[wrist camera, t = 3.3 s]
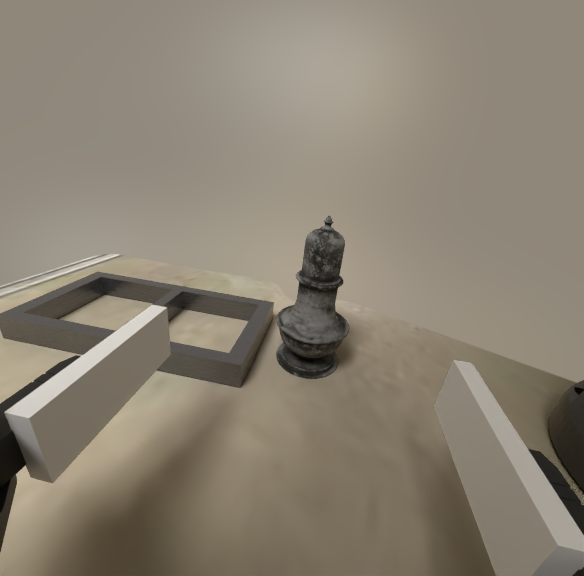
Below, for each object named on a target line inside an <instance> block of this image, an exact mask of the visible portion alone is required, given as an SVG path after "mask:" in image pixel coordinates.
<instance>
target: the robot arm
mask: <svg viewBox="0 0 584 576" xmlns="http://www.w3.org/2000/svg"><path fill="white" fill-rule="evenodd" d="M170 355H171V350H170V337H169V324H168V312H167V307H162V306H157V305H151V306H150V307H148V308H147V309H146V310H144V311H143V312H141V313H140V314H139V315H137V316H136V317H135V318H133V319H132V320H130V321H129V322H128V323H126V324H125V325H124V326H122V327H121V328H119V329H118V330H117V331H115V332H114V333H113V334H111V335H110V336H108V337H107V338H106V339H104V340H103V341H102V342H100V343H99V344H97V345H96V346H95V347H93V348H92V349H91V350H89V351H88V352H86V353H85V354H84V355H82V356H77V355H76V356H74V357H71V358H69V359H67V360H64V361H62V362H60V363H58V364H57V365H55V366H54V367H53V368H51V369H50V370H48V371H47V372H46V373H45V374H42V375H41V376H40V377H38V378H37V379H35V380H34V382H33V383H32V382H31V383H29V384H28V385H27V386H25V387H24V388H22V389H21V390H19V391H18V392H16V393H15V394H14V395H12V396H11V397H9V398H8V399H6V400H5V401H4V402H2V403H1V404H0V551H1V547H2V543H3V539H4V535H5V530H6V526H7V522H8V518H9V514H10V510H11V505H12V501H13V497H14V493H15V489H16V485H17V477H16V473H18V472H19V471H20V470H21V469H22V468H23V467H24V466H25V465H26V467H27V469H28V472H29V474H30V477H31V478H35V479H39V480H42V481H46V482H50V483H54V481H55V480H56V479H57V478H58V477H59V476H60V475H61V474H62V473H63V472H64V471H65V469H66V468H67V467H68V466H69V465H70V464H71V463H72V462H73V461H74V460H75V458H76V457H77V456H78V455H79V454H80V453H81V452H82V451H83V450H84V449H85V448H86V446H87V445H88V444H89V443H90V442H91V441H92V440H93V439H94V438H95V437H96V436H97V434H98V433H99V432H100V431H101V430H102V429H103V428H104V427H105V426H106V425H107V424H108V422H109V421H110V420H111V419H112V418H113V417H114V416H115V415H116V414H117V413H118V412H119V410H120V409H121V408H122V407H123V406H124V405H125V404H126V403H127V402H128V401H129V400H130V398H131V397H132V396H133V395H134V394H135V393H136V392H137V391H138V390H139V389H140V388H141V386H142V385H143V384H144V383H145V382H146V381H147V380H148V379H149V378H150V377H151V376H152V374H153V373H154V372H155V371H156V370H157V369H158V368H159V367H160V366H161V365H162V363H163V362H164V361H165V360H166V359H167V358H168V357H169V356H170ZM434 410H435V412H436V415H437V418H438V420H439V423H440V426H441V429H442V431H443V434H444V437H445V439H446V442H447V445H448V447H449V450H450V453H451V456H452V458H453V461H454V464H455V466H456V469H457V472H458V474H459V477H460V480H461V483H462V485H463V488H464V491H465V493H466V496H467V499H468V501H469V504H470V507H471V510H472V512H473V515H474V518H475V520H476V523H477V526H478V528H479V531H480V534H481V537H482V539H483V542H484V545H485V547H486V550H487V553H488V555H489V558H490V561H491V564H492V566H493V569H494V572H495V574H496V576H584V505H581V501H580V500H579V498H578V497H577V495H576V494H575V493H574V491H573V490H571V489H570V485H569V484H568V483H567V481H566V480H565V478H564V477H563V475H562V474H561V473H560V471H559V470H558V468H557V467H556V466H555V465H553V464H552V463H551V462H550V461H549V460H548V459H547V458H546V457H545V456H544V455H543V454H542V453H541V452H540V451H535V450H530V449H527V447H526V446H525V444H524V442H523V441H522V439H521V438H520V436H519V435H518V433H517V432H516V430H515V429H514V427H513V425H512V424H511V422H510V421H509V419H508V418H507V416H506V415H505V413H504V412H503V410H502V408H501V407H500V405H499V404H498V402H497V401H496V399H495V398H494V396H493V395H492V393H491V391H490V390H489V388H488V387H487V385H486V384H485V382H484V381H483V379H482V378H481V376H480V374H479V373H478V371H477V370H476V368H475V367H474V365H473V364H472V363H469V362H464V361H458V360H453V362H452V364H451V366H450V369H449V371H448V374H447V376H446V379H445V381H444V383H443V386H442V388H441V391H440V393H439V395H438V398H437V400H436V403H435V405H434ZM549 432H550V437H551V439H552V442H553V445H554V447H555V449H556V451H557V453H558V455H559V457H560V458H561V460H562V462H563V463H564V465H565V466H566V468H567V469H568V471H569V472H570V474H571V475H572V476H573V478H574V479H575V480H576V481H577V483H578V484H579V485H580V487H581V488H582V489H583V490H584V380H583V381H581V382H579V383H577V384H575V385H574V386H572V387H571V388H570V389H568V390H567V391H566V392H565V394H564V395H563V397H562V398H561V400H560V401H559V403H558V404H557V406H556V407H555V409H554V410H553V412H552V413H551V415H550V418H549Z"/></svg>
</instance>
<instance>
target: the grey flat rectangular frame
mask: <svg viewBox="0 0 584 576" xmlns="http://www.w3.org/2000/svg"><path fill="white" fill-rule="evenodd" d="M103 294H106V295H112V296H117V297H123V298H128V299H134V300H139V301H144V302H150V303H154V304H152V305H157V306H162V307H167V312H168V322H169V321H170V320H171V319H172V318H173V317H174V316H175V315H176V314H178V313H179V312H180V311H181V310H182V309H188V310H193V311H199V312H204V313H210V314H215V315H221V316H226V317H232V318H237V319H243V320H248V321H249V322H248V323H247V325H246V327H245V328H244V330H243V332H242V333H241V335H240V336H239V338H238V340H237V341H236V343H235V345H234V346H233V348H232V349H231V351H230V353H225V352H220V351H215V350H210V349H205V348H200V347H195V346H190V345H185V344H180V343H175V342H170V350H171V355H170V356H169V357H168V358H167V359H166V360H165V361H164V362H163V363H162V365H161V366H160V367H159V368H158V369H157V370H159V371H164V372H168V373H173V374H178V375H182V376H187V377H192V378H197V379H201V380H206V381H211V382H216V383H220V384H225V385H230V386H235V387H239V388H240V387H241V385H242V383H243V381H244V379H245V376H246V374H247V372H248V370H249V368H250V366H251V364H252V362H253V360H254V357H255V355H256V353H257V351H258V349H259V347H260V345H261V343H262V340H263V338H264V336H265V334H266V332H267V330H268V328H269V326H270V323H271V321H272V317H273V306H274V302H268V301H263V300H257V299H251V298H245V297H240V296H234V295H228V294H223V293H217V292H211V291H205V290H200V289H194V288H188V287H182V286H177V285H171V284H165V283H159V282H154V281H148V280H142V279H137V278H131V277H125V276H119V275H114V274H108V273H102V272H96V273H94V274H91V275H89V276H87V277H84V278H82V279H80V280H77V281H75V282H73V283H70V284H68V285H66V286H63V287H61V288H59V289H57V290H54V291H52V292H50V293H47V294H45V295H43V296H40V297H38V298H36V299H33V300H31V301H29V302H26V303H24V304H22V305H19V306H17V307H15V308H12V309H10V310H8V311H5V312H3V313H1V314H0V330H1V332H2V335H3V338H7V339H12V340H17V341H21V342H26V343H31V344H36V345H40V346H45V347H50V348H55V349H59V350H64V351H69V352H73V353H78V354H83V355H84V354H85V353H86V352H88V351H89V350H91V349H92V348H93V347H95V346H96V345H97V344H99V343H100V342H102V341H103V340H104V339H106V338H107V337H108V336H110V335H111V334H113V333H114V332H115V331H114V330H109V329H104V328H99V327H94V326H89V325H84V324H79V323H74V322H69V321H63V320H58V319H59V318H60V317H62V316H64V315H66V314H68V313H70V312H72V311H74V310H75V309H77V308H79V307H81V306H83V305H85V304H87V303H89V302H90V301H92V300H94V299H96V298H98V297H100V296H102V295H103ZM149 307H150V306H149ZM145 310H146V309H145ZM142 312H143V311H142ZM138 315H139V314H138ZM134 318H135V317H134ZM131 320H132V319H131ZM127 323H128V322H127ZM124 325H125V324H124ZM124 325H123V326H124ZM120 328H121V327H120ZM117 330H118V329H117ZM117 330H116V331H117Z"/></svg>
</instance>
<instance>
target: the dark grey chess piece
mask: <svg viewBox="0 0 584 576" xmlns="http://www.w3.org/2000/svg"><path fill="white" fill-rule="evenodd" d="M324 222H325V226H324V227H321V228H320V229H316V230H314V231H312V232H310V233H309V234H308V236H307V238H306V242H305V250H304V257H303V265H302V270H301V271H299V272H298V273H297V274H296V278H297V280H298V281H299V289H298V296H297V301H296V303H295V305H292V306H288V307H286V308H284V309H282V310H281V311H280V312H279V313H278V315H277V318H276V320H277V325H278V326H279V329H280V334H281V337H282V340H283V342H284V343H283V344H281V345H280V346H279V348H278V350H277V353H276V355H277V360H278V362H279V364H280V365H281V366H282V367H283V369H285V370H286V371H288V372H289V373H291V374H293V375H296V376H298V377H303V378H309V379H317V378H322V377H326V376H328V375H330V374H332V373H333V372H334V371H335V370H336V368H337V366H338V358H337V355H336V354H335V352H334V351H335V350H336V349H337V348H338V346H339V345H340V344H341V342H342V340H343V338H345V337H346V336H347V334H348V332H349V325H348V323H347V321H346V320H345V319H344V318H343V317H342V316H341V315H340V314H338V313H337V312H335V300H336V295H337V289H338V287H339V286H341V285H342V284H343V279H342V278H341V277H340V276H339V274H340V268H341V263H342V258H343V252H344V246H345V240H344V238H343V236H342V235H341V234H340V233H338V232H337V231H335V230H334V229H333V228H331V224H332V223H333V222H332V219H331V217H330V216H328V218H326V220H325V221H324Z"/></svg>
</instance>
